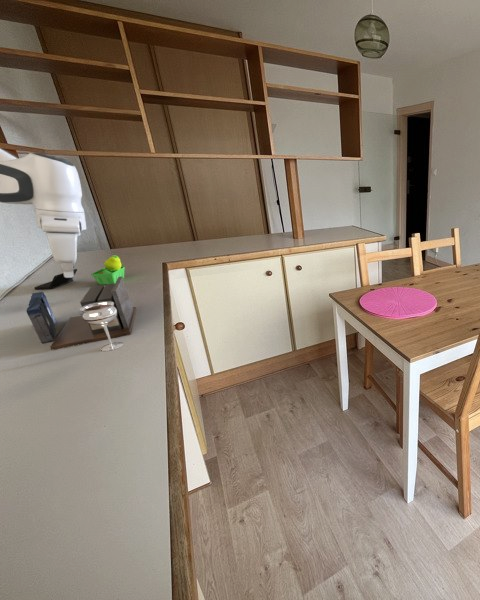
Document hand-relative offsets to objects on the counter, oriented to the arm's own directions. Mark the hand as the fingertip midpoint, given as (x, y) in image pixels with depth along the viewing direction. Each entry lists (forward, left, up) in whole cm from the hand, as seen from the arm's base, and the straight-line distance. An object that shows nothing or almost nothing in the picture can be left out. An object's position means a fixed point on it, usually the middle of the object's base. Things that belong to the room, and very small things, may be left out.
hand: (69, 273), depth 85 cm
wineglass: (+6, -12, -19) cm, 23 cm away
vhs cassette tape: (-11, +9, -19) cm, 23 cm away
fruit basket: (-1, +59, -19) cm, 62 cm away
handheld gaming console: (-19, +64, -19) cm, 69 cm away
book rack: (+1, +5, -19) cm, 19 cm away
